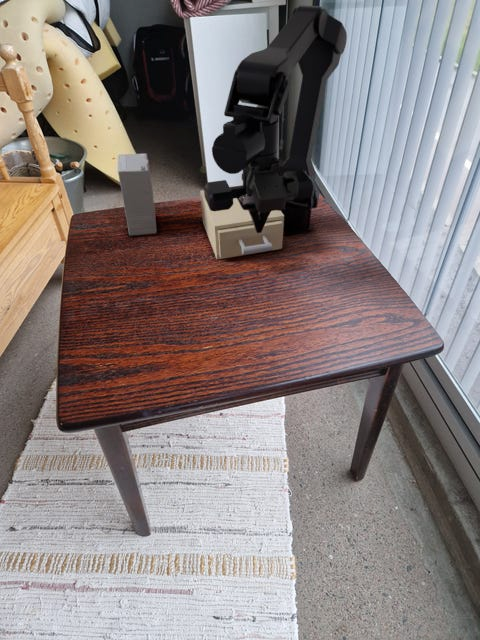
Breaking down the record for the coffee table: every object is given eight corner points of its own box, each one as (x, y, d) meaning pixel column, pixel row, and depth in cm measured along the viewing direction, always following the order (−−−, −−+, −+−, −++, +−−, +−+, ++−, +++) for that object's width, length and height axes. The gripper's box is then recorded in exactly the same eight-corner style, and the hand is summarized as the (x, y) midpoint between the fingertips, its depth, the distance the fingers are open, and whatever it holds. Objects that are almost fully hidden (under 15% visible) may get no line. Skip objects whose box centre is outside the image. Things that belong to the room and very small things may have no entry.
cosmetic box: (128, 218, 102) (114, 154, 91) (158, 215, 103) (147, 150, 92) (128, 237, 96) (113, 170, 85) (160, 234, 97) (148, 167, 86)
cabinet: (282, 248, 92) (284, 215, 86) (216, 259, 89) (214, 226, 84) (261, 213, 103) (262, 182, 97) (202, 222, 100) (199, 190, 94)
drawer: (288, 261, 87) (290, 235, 82) (225, 272, 85) (224, 245, 80) (261, 215, 100) (262, 190, 96) (206, 223, 98) (204, 198, 94)
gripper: (214, 177, 61) (219, 264, 72) (333, 162, 65) (321, 247, 75) (200, 148, 69) (206, 230, 80) (306, 136, 72) (299, 216, 83)
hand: (258, 231), depth 79 cm, fingers closed
